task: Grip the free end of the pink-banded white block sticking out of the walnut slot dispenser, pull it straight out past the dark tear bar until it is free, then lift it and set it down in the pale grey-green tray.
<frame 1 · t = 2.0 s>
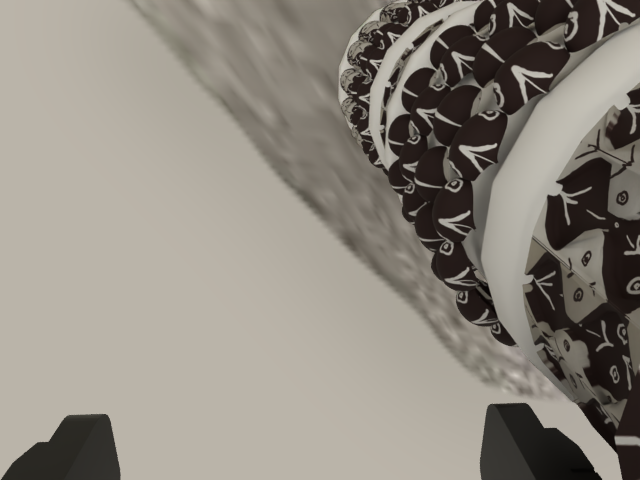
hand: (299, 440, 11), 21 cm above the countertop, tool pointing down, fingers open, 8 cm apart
decorative candle: (413, 81, 27), on the countertop
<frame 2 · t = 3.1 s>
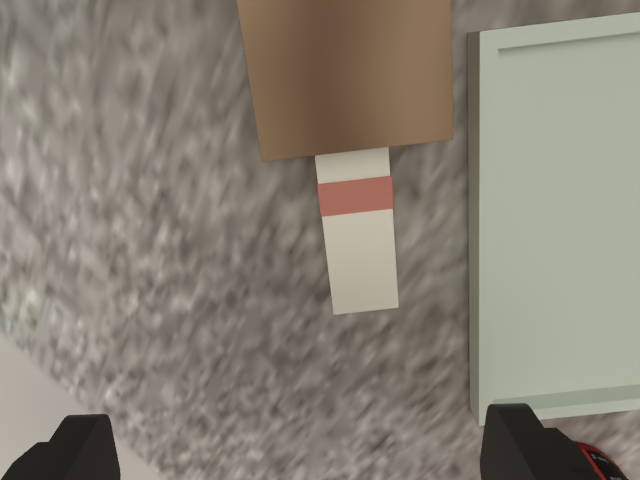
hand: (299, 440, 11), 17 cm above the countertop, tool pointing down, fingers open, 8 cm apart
pink-banded white block: (344, 140, 25), on the countertop
tray: (575, 233, 27), on the countertop
dispenser: (332, 21, 23), on the countertop
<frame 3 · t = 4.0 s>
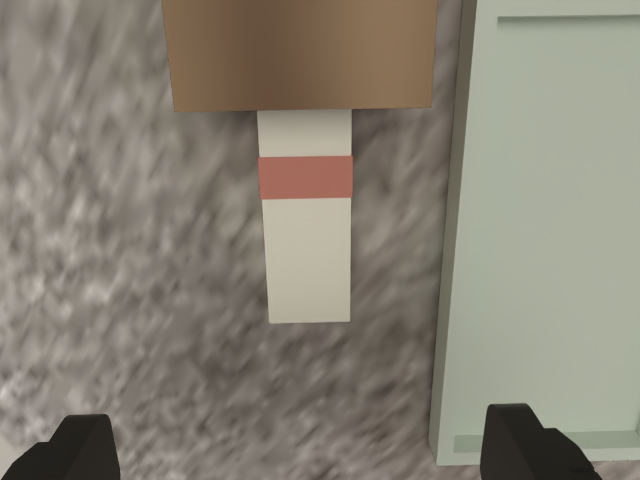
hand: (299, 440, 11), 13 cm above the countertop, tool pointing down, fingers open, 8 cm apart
pink-banded white block: (305, 114, 21), on the countertop
tray: (566, 252, 23), on the countertop
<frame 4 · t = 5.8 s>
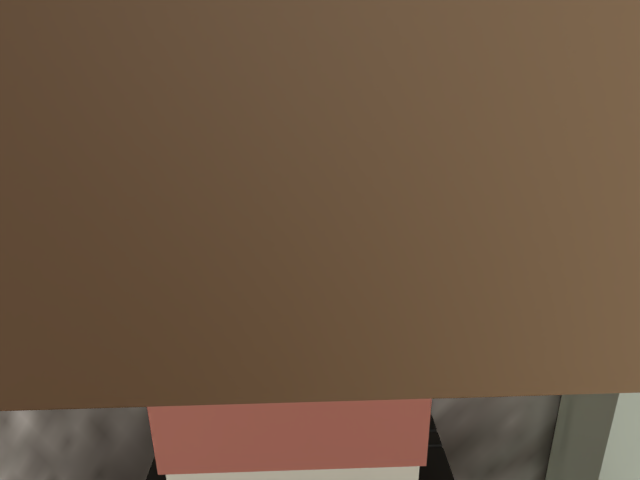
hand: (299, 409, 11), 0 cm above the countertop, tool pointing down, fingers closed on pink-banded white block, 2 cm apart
pink-banded white block: (294, 180, 10), on the countertop, touching gripper
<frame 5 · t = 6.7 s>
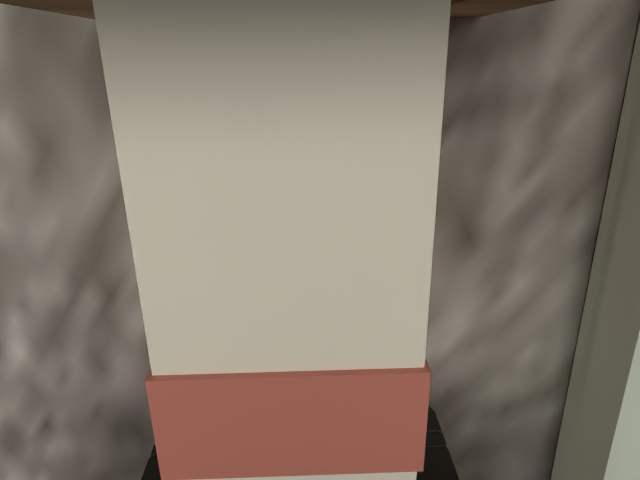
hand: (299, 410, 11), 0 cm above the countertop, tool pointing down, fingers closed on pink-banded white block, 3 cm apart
pink-banded white block: (294, 186, 10), on the countertop, touching gripper
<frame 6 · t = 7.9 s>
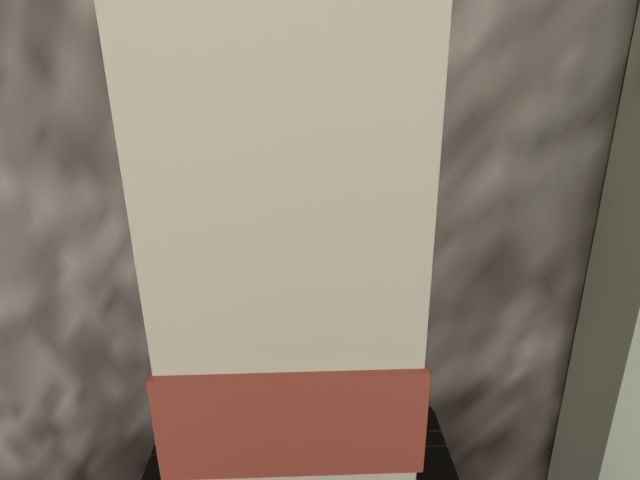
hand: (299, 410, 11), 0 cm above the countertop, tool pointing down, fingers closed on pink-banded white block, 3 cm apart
pink-banded white block: (294, 187, 10), on the countertop, touching gripper
when the fingers open (2 cm above the countertop, at t = 12.4 s): pink-banded white block stays where it is, resting on tray.
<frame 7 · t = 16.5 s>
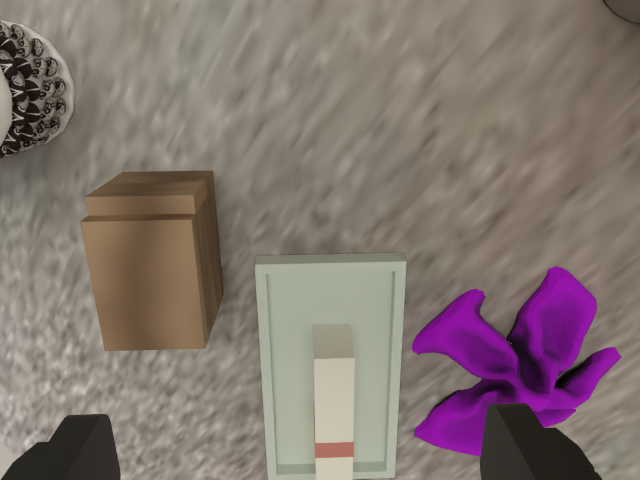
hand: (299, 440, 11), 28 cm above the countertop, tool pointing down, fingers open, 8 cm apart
pink-banded white block: (331, 393, 43), point 1 cm above the countertop, touching tray
tray: (330, 368, 43), on the countertop
cloth: (522, 361, 45), on the countertop
decorative candle: (15, 86, 34), on the countertop
dispenser: (176, 243, 39), on the countertop
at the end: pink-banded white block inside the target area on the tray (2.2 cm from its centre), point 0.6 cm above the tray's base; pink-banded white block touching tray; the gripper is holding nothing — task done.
